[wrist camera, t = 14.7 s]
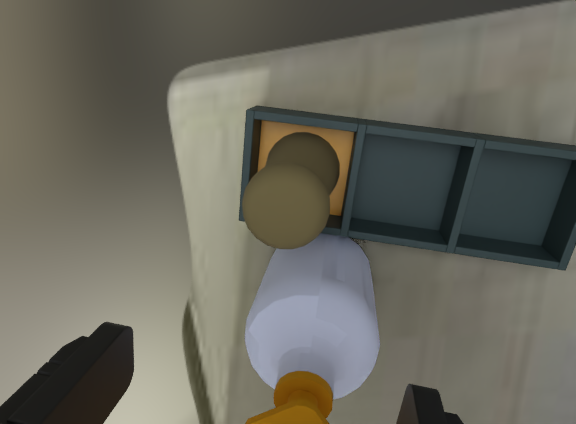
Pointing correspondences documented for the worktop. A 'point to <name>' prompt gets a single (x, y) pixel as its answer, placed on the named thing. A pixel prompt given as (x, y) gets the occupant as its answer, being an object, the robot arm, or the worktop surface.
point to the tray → (436, 186)
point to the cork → (292, 191)
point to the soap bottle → (313, 328)
